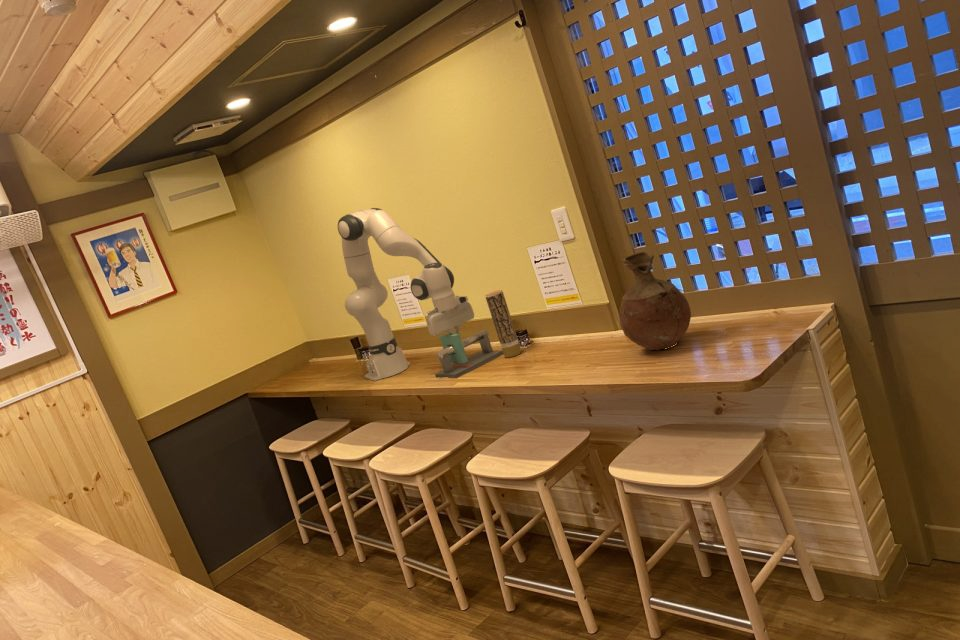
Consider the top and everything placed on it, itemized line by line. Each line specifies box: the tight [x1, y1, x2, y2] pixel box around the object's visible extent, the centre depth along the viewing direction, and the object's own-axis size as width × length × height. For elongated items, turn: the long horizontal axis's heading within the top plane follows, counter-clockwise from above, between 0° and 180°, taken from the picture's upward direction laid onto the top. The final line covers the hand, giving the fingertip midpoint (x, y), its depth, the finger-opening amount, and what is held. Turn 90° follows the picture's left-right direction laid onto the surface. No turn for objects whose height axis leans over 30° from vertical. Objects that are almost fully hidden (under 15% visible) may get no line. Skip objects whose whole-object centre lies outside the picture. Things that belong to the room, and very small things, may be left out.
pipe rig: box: [436, 328, 494, 373], centre depth 280 cm, size 4×24×9 cm, turn 128°
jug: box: [619, 251, 692, 351], centre depth 224 cm, size 22×22×30 cm
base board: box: [434, 349, 504, 379], centre depth 280 cm, size 14×24×2 cm, turn 128°
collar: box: [438, 333, 468, 364], centre depth 276 cm, size 11×2×11 cm, turn 38°
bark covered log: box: [484, 289, 522, 359], centre depth 273 cm, size 7×7×25 cm
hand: (456, 338), depth 278 cm, fingers closed
